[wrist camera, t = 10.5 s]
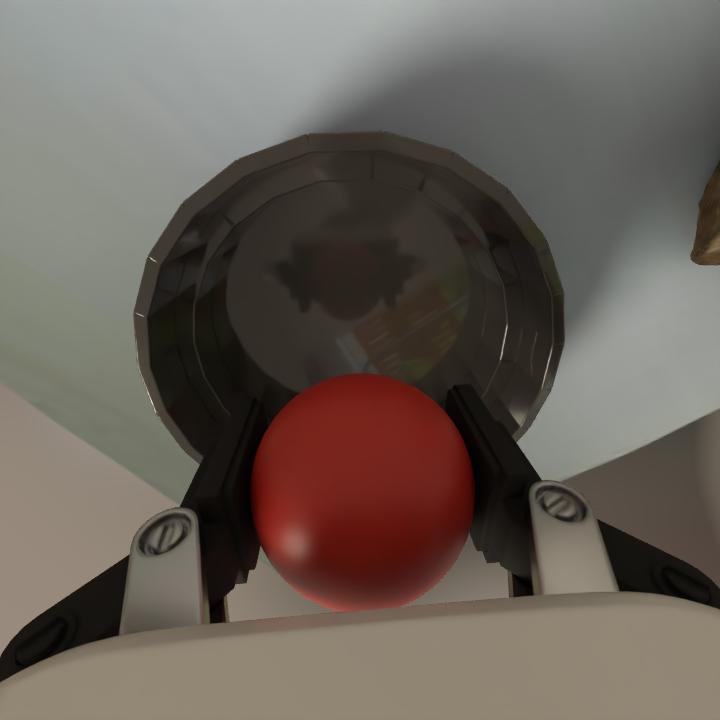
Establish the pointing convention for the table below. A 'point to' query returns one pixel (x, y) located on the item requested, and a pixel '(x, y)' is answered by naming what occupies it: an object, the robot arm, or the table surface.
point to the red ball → (362, 493)
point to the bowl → (346, 284)
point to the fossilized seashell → (708, 224)
